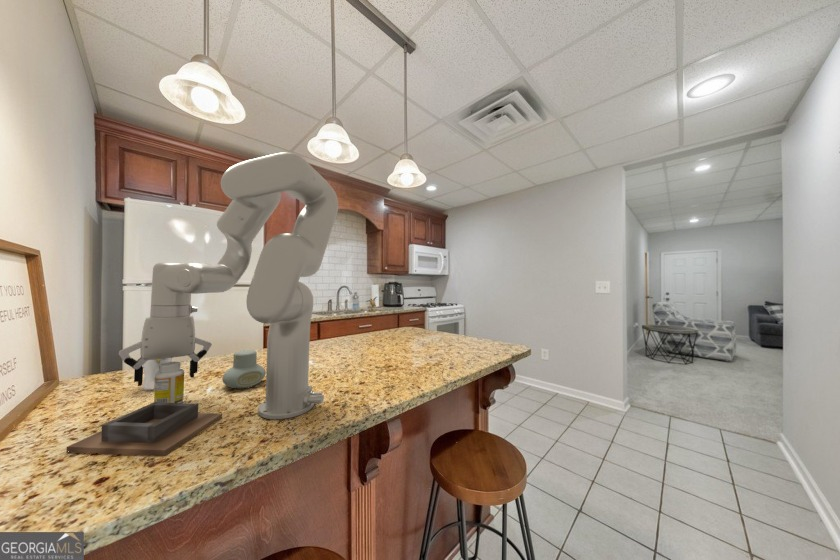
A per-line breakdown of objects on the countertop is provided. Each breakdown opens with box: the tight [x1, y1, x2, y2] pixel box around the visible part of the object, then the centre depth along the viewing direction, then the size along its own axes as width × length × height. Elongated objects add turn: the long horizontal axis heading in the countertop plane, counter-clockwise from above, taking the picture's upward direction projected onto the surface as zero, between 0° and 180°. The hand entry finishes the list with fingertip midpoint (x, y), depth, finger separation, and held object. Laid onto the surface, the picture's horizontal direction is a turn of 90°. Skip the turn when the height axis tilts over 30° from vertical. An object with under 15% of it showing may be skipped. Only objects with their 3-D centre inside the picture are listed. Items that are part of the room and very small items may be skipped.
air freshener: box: [222, 349, 266, 390], centre depth 84 cm, size 11×8×10 cm
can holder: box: [66, 401, 223, 457], centre depth 57 cm, size 18×14×4 cm
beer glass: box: [141, 358, 173, 392], centre depth 82 cm, size 7×7×15 cm
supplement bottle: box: [153, 361, 185, 403], centre depth 70 cm, size 6×6×10 cm
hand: (167, 380), depth 70 cm, fingers open, 9 cm apart
